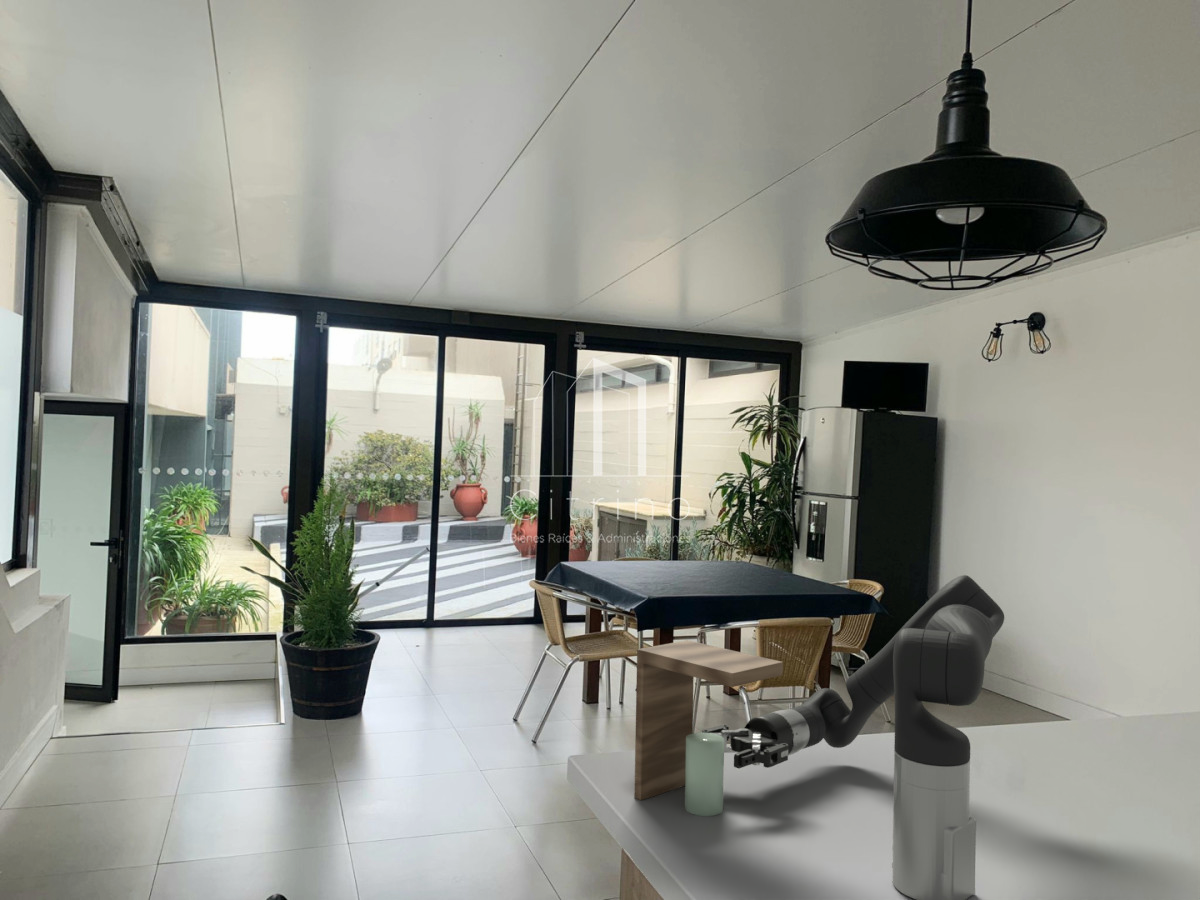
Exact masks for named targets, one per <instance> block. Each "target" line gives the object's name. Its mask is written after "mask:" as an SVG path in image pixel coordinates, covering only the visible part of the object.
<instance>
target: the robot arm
mask: <svg viewBox="0 0 1200 900" xmlns="http://www.w3.org/2000/svg"><path fill="white" fill-rule="evenodd" d="M1004 621H1005V614H1004V611H1003V610H1002V608H1001V607H1000V606H999V604H997V602H996V601H995V600H994V599H993V598H992V597H991V596H990V595H989V593H987V592H986V591H985V590H984V589H983V588H982V587H981V586H980V585H979V584H978V583H977V582H976V581H975V580H974V579H973V578H972V577H971V576H969V575H966V574H962V575H959V576H957V577H955V578H953V579H951V580H950V581H949V582H947V583H946V584H945V585H944V586H942V587H941V588H940V589H938V591H936V593H935V594H933V595H932V596H931V597H930V598H929V599H928V600H927V601H926V602H925V603H924V605H922V606H921V607H920V608H919V609H918V610H917V612H915V613H914V614H913V616H911V618H909V619H908V621H906V622H905V623H904V625H902V627H901V628H900V629H899V630H898V631H897V632H896V633H895V635H894V636H893V637H892V638H891V639H890V640H889V641H888V642H887V643H886V644H885V645H884V647H883V648H881V649H880V650H879V651H878V652H877V653H876V654H875V655H874V656H873V657H871V658H870V659H869V660H868V661H866V663H864V664H862V666H860V667H859V668H858V669H857V670H856V671H855V672H853V673H852V674H851V675H850V676H849V677H848V678H847V679H846V680H845V681H846V682H845V688H846V690H847V693H848V695H849V698H850V700H851V705H852V706H851V709H850V708H849V706H848V705H847V703H846V702H845V701H844V700H843V698H842V696H841V695H840V694H839V693H838V692H837V691H836V690H834V689H831V688H827V687H824V688H823V687H822V688H821V689H818V690H817V691H816V692H814V693H813V694H812V695H811V696H810V697H809V698H807V699H806V700H805V702H803V703H802V704H800V705H798V706H795V707H791V708H788V709H779V710H775V711H772V712H768V713H765V714H761V715H758V716H754V717H752V718H751V719H749V720H748V721H747V723H746V724H745V726H744V727H742V728H741V727H740V728H737V729H730V726H729V725H728V724H721V725H718V726H713V727H709V728H705V729H702V730H701V732H704V733H713V734H717V735H720V736H722V737H723V738H724V754H730V753H733V754H734V755H733V767H734V768H735V769H736V768H737V769H742V768H745V767H747V766H751V765H753V766H759V765H760V764H763V767H764V768H766V769H767V768H769V769H770V768H772V767H775V766H776V765H779V764H781V763H782V764H783V763H784V762H786V761H788V760H789V756H791V755H795V754H796V753H798V752H799V751H801V750H803V749H806V748H811V747H813V746H815V745H818V744H819V743H821V742H822V741H823V740H824V741H825V742H826V743H827V745H829V746H830V747H831V748H834V749H835V748H836V749H842V748H844V747H847V746H848V745H850V744H852V743H853V741H854V740H855V739H856V738H857V737H858V735H859V734H860V733H861V731H862V729H864V726H865V724H866V723H867V722H868V720H869V719H870V717H871V716H872V715H873V714H874V712H875V711H876V710H877V709H878V708H879V707H880V706H881V705H882V704H883V703H885V702H886V701H888V700H889V699H891V697H892V696H893V695H894V750H893V751H894V753H893V799H892V801H893V802H892V803H893V806H892V813H893V815H892V818H893V819H892V863H891V866H892V867H891V868H892V884H893V886H894V887H895V889H896V890H898V891H899V892H901V893H902V894H903V895H905V896H907V897H909V898H912V899H914V900H967V899H969V898H970V897H972V896H973V895H975V894H976V849H977V848H976V845H977V844H976V841H977V834H976V833H977V821H976V819H975V818H973V817H970V793H971V792H970V784H971V783H970V781H971V779H970V778H971V776H970V775H971V773H970V772H971V742H970V739H969V737H968V736H967V734H966V733H964V732H963V731H961V730H960V729H958V728H956V727H955V726H953V725H951V724H948V723H946V722H944V721H943V720H941V719H939V718H938V717H936V716H935V715H933V714H932V713H931V712H930V711H929V710H928V709H926V707H925V706H924V705H923V702H925V703H932V704H940V705H948V706H955V707H960V706H961V707H964V706H970V705H972V704H973V703H974V702H975V701H976V700H977V699H978V697H979V696H980V694H981V691H982V688H983V683H984V677H985V666H986V665H985V663H986V662H985V661H986V659H987V657H988V656H989V653H990V651H991V649H992V648H991V647H992V643H993V639H994V637H995V636H996V635H997V634H998V632H999V631H1000V630H1001V628H1002V627H1003V624H1004V623H1005V622H1004ZM729 739H730V740H729ZM728 741H730V743H729V744H730V746H728V745H727V743H728Z"/></svg>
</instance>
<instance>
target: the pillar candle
mask: <svg viewBox="0 0 1200 900" xmlns="http://www.w3.org/2000/svg"><path fill="white" fill-rule="evenodd" d="M724 764H725V753H724V738H723V737H722V736H720V735H717V734H713V733H704V732H702V731H701V732H693V733H692V734H689V735H687V736H686V766H685V786H684V808H685V810H686V811H687V812H688V813H690V814H692V815H695V816H699V817H700V816H701V817H713V816H717V815H720V814H722V813H723V811H724V779H725V778H724V775H725V774H724V771H725V769H724V766H725V765H724Z"/></svg>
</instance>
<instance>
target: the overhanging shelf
mask: <svg viewBox="0 0 1200 900" xmlns="http://www.w3.org/2000/svg"><path fill="white" fill-rule="evenodd" d="M783 673H784V662H783V661H780V660H776V659H771V658H767V657H763V656H758V655H754V654H749V653H746V652H741V651H736V650H733V649H728V648H724V647H720V646H719V647H718V646H714V645H710V644H706V643H701V642H697V641H692V640H688V639H687V640H682V641H675V642H670V643H664V644H658V645H653V646H648V647H643V648H642V647H641V648H637V649H636V686H635V689H636V691H635V695H636V697H635V704H636V705H635V744H634V745H635V747H634V748H635V752H634V753H635V754H634V794H633V795H634V797H633V798H634V799H636V800H639V801H643V800H646V799H648V798H652V797H654V796H658V795H661V794H663V793H667V792H671V791H672V790H675V789H679V788H682V787H685V766H686V736H687V735H689V734H692V733H694V732H693V729H694V727H693V726H694V725H693V723H694V678H697V679H701V680H704V681H708V682H712V683H715V684H719V685H723V686H727V687H730V688H734V687H738V686H742V685H746V684H750V683H755V682H759V681H764V680H767V679H772V678H776V677H780V676H783V675H784V674H783Z"/></svg>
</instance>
